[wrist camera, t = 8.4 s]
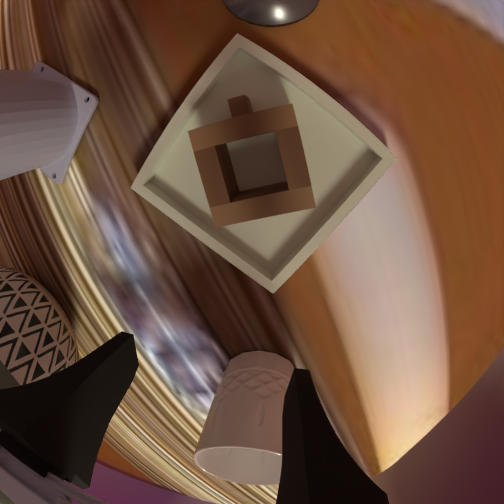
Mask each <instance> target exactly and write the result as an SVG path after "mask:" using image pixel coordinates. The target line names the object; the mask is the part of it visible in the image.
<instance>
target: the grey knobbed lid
mask: <svg viewBox="0 0 504 504" xmlns="http://www.w3.org/2000/svg"><path fill="white" fill-rule="evenodd" d="M223 1H224V3H225V5H226V6H227V8H228V9H229V11H230V12H231V13H232V14H234V15H235V16H236V17H238V18H239V19H241V20H243V21H245V22H247V23H250V24H254V25H258V26H265V27H278V26H285V25H289V24H293V23H296V22H298V21H300V20H302V19H304V18H305V17H307V16H308V15H309V14H311V13H312V12H313V11H314V9H315V8H316V6H317V5H318V2H319V0H223Z"/></svg>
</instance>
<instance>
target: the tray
mask: <svg viewBox="0 0 504 504" xmlns="http://www.w3.org/2000/svg"><path fill="white" fill-rule="evenodd" d="M241 95H246V96H247V97H248V98H249V99H250V102H251V106H252V109H253V112H256V111H260V110H265V109H269V108H273V107H278V106H283V105H288V104H293V108H294V112H295V116H296V120H297V124H298V128H299V132H300V136H301V140H302V144H303V149H304V153H305V158H306V162H307V167H308V171H309V176H310V181H311V186H312V190H313V195H314V201H315V206H316V208H312V209H307V210H301V211H296V212H291V213H286V214H281V215H276V216H271V217H266V218H261V219H256V220H251V221H246V222H241V223H237V224H232V225H227V226H223V227H218V228H216V227H215V224H214V221H213V217H212V214H211V211H210V207H209V204H208V201H207V197H206V194H205V190H204V187H203V184H202V180H201V177H200V173H199V170H198V166H197V163H196V159H195V156H194V152H193V148H192V145H191V141H190V138H189V134H188V131H190V130H193V129H196V128H199V127H202V126H205V125H209V124H212V123H215V122H219V121H222V120H226V119H229V118H232V116H231V112H230V108H229V105H228V101H227V99H230V98H234V97H238V96H241ZM226 144H227V147H228V151H229V155H230V159H231V162H232V166H233V170H234V173H235V177H236V181H237V185H238V188H239V191H244V190H248V189H253V188H257V187H262V186H266V185H271V184H276V183H281V182H285V181H287V179H286V175H285V171H284V166H283V162H282V158H281V154H280V150H279V146H278V142H277V138H276V134H275V132H270V133H266V134H261V135H257V136H253V137H249V138H245V139H241V140H237V141H233V142H229V143H226ZM396 159H397V157H396V156H395V155H394V154H393V153H392V152H391V151H390V150H389V149H388V148H387V147H386V146H385V145H384V144H383V143H382V142H381V141H380V140H379V139H378V138H377V137H376V136H375V135H374V134H372V133H371V132H370V131H369V130H368V129H367V128H366V127H365V126H364V125H363V124H362V123H361V122H360V121H358V120H357V119H356V118H355V117H354V116H353V115H352V114H351V113H349V112H348V111H347V110H346V109H345V108H344V107H342V106H341V105H340V104H339V103H338V102H336V101H335V100H334V99H333V98H332V97H330V96H329V95H328V94H327V93H325V92H324V91H323V90H321V89H320V88H319V87H318V86H316V85H315V84H314V83H312V82H311V81H310V80H308V79H307V78H306V77H304V76H303V75H302V74H300V73H299V72H297V71H296V70H295V69H293V68H292V67H290V66H289V65H287V64H286V63H284V62H283V61H281V60H280V59H278V58H277V57H275V56H274V55H272V54H271V53H269V52H268V51H266V50H265V49H263V48H261V47H260V46H258V45H256V44H255V43H253V42H251V41H250V40H248V39H246V38H245V37H243V36H241V35H239V34H238V33H237V34H236V35H235V36H234V38H233V39H232V40H231V41H230V42H229V43H228V44H227V46H226V47H225V48H224V49H223V50H222V52H221V53H220V54H219V55H218V56H217V58H216V59H215V60H214V61H213V63H212V64H211V65H210V66H209V68H208V69H207V70H206V72H205V73H204V74H203V76H202V77H201V78H200V79H199V81H198V82H197V83H196V85H195V86H194V88H193V89H192V90H191V92H190V93H189V94H188V96H187V97H186V99H185V100H184V102H183V103H182V104H181V106H180V107H179V109H178V110H177V112H176V113H175V115H174V116H173V118H172V119H171V121H170V122H169V124H168V125H167V127H166V128H165V130H164V131H163V133H162V135H161V136H160V138H159V139H158V141H157V143H156V144H155V146H154V148H153V149H152V151H151V153H150V154H149V156H148V158H147V159H146V161H145V163H144V165H143V166H142V168H141V170H140V172H139V173H138V175H137V177H136V179H135V181H134V183H133V184H132V186H131V188H132V189H133V190H134V191H135V192H137V193H138V194H139V195H141V196H142V197H143V198H145V199H146V200H147V201H149V202H150V203H151V204H152V205H154V206H155V207H156V208H158V209H159V210H160V211H162V212H163V213H164V214H166V215H167V216H168V217H170V218H171V219H172V220H174V221H175V222H176V223H177V224H179V225H180V226H181V227H183V228H184V229H185V230H187V231H188V232H189V233H191V234H192V235H193V236H195V237H196V238H198V239H199V240H200V241H202V242H203V243H204V244H206V245H207V246H208V247H210V248H211V249H212V250H214V251H215V252H216V253H218V254H219V255H220V256H222V257H223V258H225V259H226V260H227V261H229V262H230V263H231V264H233V265H234V266H235V267H237V268H238V269H240V270H241V271H242V272H244V273H245V274H246V275H248V276H249V277H251V278H252V279H253V280H255V281H256V282H257V283H259V284H260V285H262V286H263V287H264V288H266V289H267V290H269V291H270V292H271V293H274V292H275V291H276V290H277V289H278V288H279V287H280V286H281V285H282V284H283V283H284V282H285V281H286V280H287V279H288V278H289V277H290V276H291V275H292V274H293V273H294V272H295V271H296V270H297V269H298V268H299V267H300V266H301V265H302V264H303V263H304V261H305V260H306V259H307V258H308V257H309V256H310V255H311V254H312V253H313V252H314V251H315V250H316V249H317V248H318V247H319V246H320V245H321V243H322V242H323V241H324V240H325V239H326V238H327V237H328V236H329V235H330V234H331V233H332V232H333V231H334V229H335V228H336V227H337V226H338V225H339V224H340V223H341V222H342V221H343V220H344V219H345V217H346V216H347V215H348V214H349V213H350V212H351V211H352V210H353V209H354V208H355V206H356V205H357V204H358V203H359V202H360V201H361V200H362V199H363V197H364V196H365V195H366V194H367V193H368V192H369V191H370V190H371V188H372V187H373V186H374V185H375V184H376V183H377V182H378V180H379V179H380V178H381V177H382V176H383V175H384V173H385V172H386V171H387V170H388V169H389V168H390V166H391V165H392V164H393V163H394V162H395V161H396Z"/></svg>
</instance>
